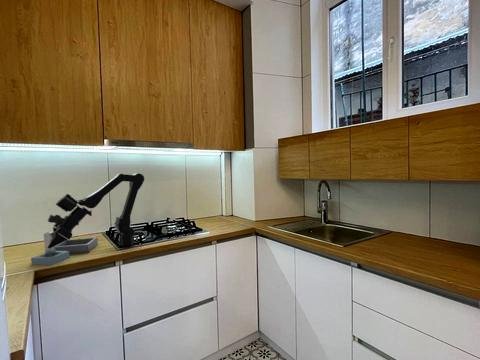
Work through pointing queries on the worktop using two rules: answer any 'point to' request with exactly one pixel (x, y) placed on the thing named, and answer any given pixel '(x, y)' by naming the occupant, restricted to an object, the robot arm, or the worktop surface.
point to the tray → (78, 245)
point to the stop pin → (47, 240)
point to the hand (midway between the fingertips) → (47, 245)
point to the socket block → (50, 258)
